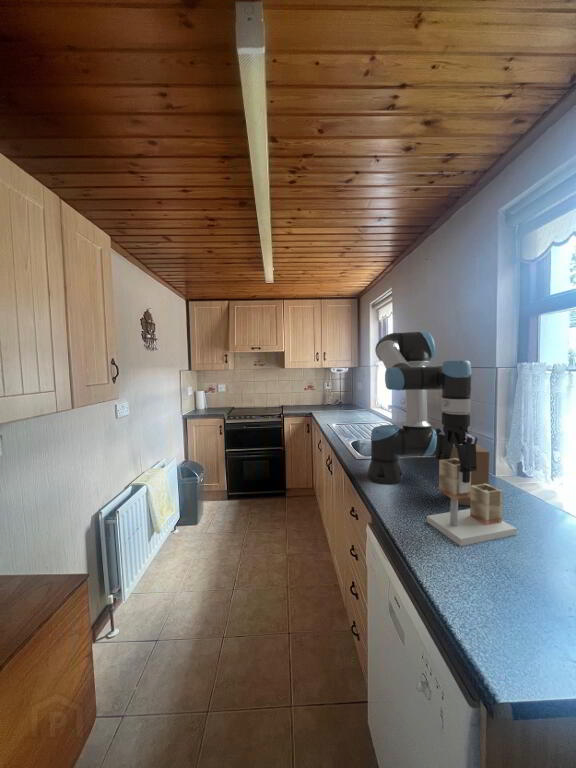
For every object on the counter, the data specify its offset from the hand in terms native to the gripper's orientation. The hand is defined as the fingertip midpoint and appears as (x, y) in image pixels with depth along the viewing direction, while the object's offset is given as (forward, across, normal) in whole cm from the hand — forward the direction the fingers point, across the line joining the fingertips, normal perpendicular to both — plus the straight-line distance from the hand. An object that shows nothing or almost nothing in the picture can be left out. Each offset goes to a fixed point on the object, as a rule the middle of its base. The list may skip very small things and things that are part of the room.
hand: (454, 487), depth 95 cm
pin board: (+14, 0, +6) cm, 15 cm away
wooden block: (+14, -16, +21) cm, 30 cm away
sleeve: (+2, 0, 0) cm, 2 cm away
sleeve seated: (+12, 0, +12) cm, 17 cm away
